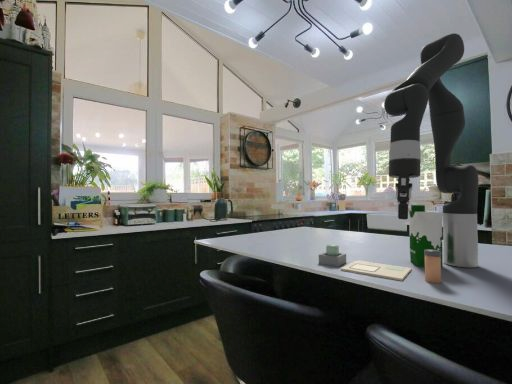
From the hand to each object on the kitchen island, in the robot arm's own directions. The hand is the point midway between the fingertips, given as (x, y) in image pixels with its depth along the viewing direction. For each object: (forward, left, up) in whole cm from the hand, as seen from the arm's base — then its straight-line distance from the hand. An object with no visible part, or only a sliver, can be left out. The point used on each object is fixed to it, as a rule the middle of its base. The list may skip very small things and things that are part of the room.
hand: (403, 219), depth 71 cm
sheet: (-8, -9, -17) cm, 21 cm away
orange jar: (-6, +6, -17) cm, 19 cm away
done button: (-9, -24, -15) cm, 29 cm away
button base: (-9, -24, -17) cm, 30 cm away
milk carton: (-26, +2, -17) cm, 31 cm away
